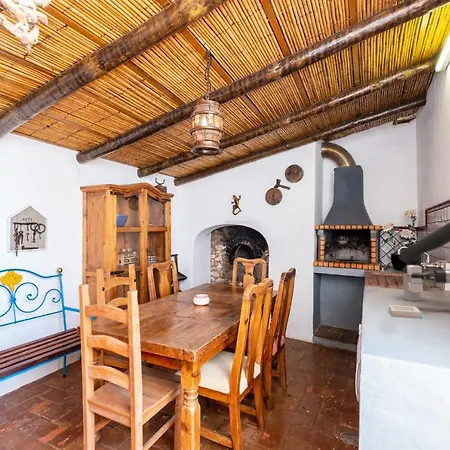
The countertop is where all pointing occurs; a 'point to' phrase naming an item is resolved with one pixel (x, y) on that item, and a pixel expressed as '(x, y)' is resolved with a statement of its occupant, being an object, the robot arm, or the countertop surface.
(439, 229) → the robot arm
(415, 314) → the square stand
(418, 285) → the syrup box
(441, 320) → the countertop surface
